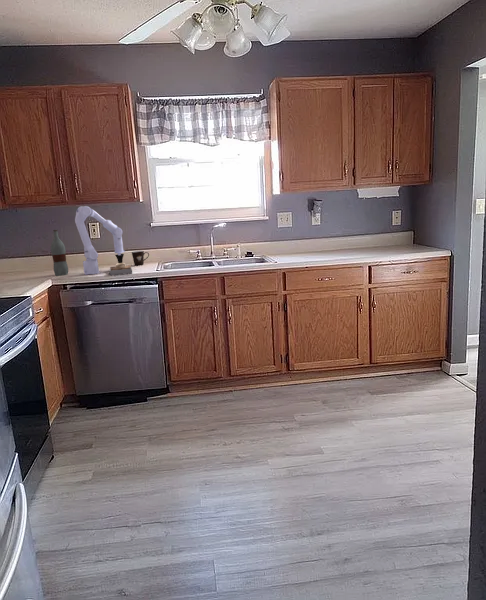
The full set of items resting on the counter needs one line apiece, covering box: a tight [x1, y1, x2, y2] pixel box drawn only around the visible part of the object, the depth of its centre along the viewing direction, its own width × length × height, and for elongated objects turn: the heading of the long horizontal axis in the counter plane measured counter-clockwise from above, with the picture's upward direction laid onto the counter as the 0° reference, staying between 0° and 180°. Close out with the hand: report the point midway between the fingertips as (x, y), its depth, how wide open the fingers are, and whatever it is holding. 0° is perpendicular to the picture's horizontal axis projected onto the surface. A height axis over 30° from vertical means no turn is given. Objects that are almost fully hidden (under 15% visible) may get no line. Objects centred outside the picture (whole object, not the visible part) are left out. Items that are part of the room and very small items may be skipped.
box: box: [109, 266, 133, 276], centre depth 303 cm, size 14×10×3 cm
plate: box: [109, 264, 132, 271], centre depth 314 cm, size 14×12×2 cm
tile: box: [115, 262, 126, 268], centre depth 313 cm, size 6×6×2 cm
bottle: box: [50, 229, 69, 277], centre depth 309 cm, size 9×9×30 cm
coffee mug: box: [131, 250, 150, 267], centre depth 337 cm, size 12×9×10 cm
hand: (120, 264), depth 320 cm, fingers closed
